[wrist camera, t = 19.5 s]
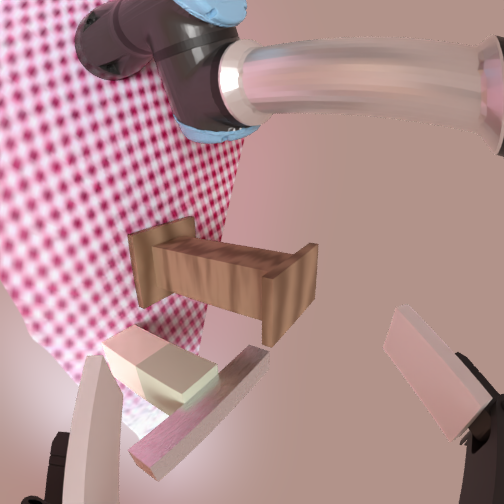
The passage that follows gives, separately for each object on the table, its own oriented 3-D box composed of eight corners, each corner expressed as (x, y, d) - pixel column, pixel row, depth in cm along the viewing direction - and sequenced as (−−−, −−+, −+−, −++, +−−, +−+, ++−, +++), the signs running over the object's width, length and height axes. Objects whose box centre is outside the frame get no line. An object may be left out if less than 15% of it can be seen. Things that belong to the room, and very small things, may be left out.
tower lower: (113, 376, 48) (146, 400, 43) (101, 342, 45) (135, 365, 40) (142, 357, 54) (177, 376, 50) (134, 324, 52) (170, 342, 47)
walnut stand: (139, 306, 53) (271, 359, 39) (127, 234, 48) (273, 263, 34) (193, 278, 65) (313, 308, 52) (188, 216, 61) (318, 232, 47)
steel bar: (136, 465, 29) (158, 481, 27) (127, 450, 27) (149, 467, 25) (249, 361, 51) (269, 368, 49) (249, 344, 50) (269, 351, 48)
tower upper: (146, 400, 43) (190, 428, 38) (135, 365, 40) (181, 394, 36) (177, 376, 50) (221, 399, 45) (170, 342, 47) (217, 364, 42)
